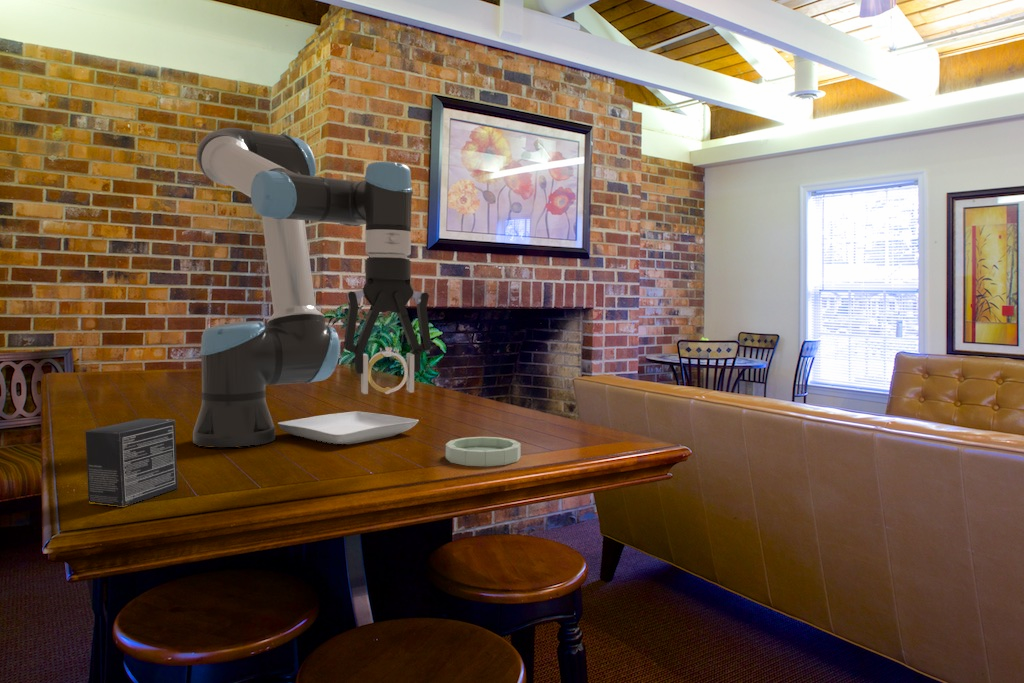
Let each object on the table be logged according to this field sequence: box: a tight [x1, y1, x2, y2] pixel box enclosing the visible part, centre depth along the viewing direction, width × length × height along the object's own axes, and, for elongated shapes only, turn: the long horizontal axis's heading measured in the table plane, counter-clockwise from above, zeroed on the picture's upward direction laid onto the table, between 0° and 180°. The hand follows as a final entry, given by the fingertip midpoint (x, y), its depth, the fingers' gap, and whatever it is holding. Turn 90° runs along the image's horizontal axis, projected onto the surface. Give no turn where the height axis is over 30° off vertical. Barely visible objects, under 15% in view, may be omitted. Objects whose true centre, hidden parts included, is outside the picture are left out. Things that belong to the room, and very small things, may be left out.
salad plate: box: [276, 410, 419, 446], centre depth 150 cm, size 21×21×3 cm
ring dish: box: [445, 436, 522, 467], centre depth 130 cm, size 13×13×2 cm
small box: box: [84, 418, 179, 506], centre depth 103 cm, size 11×6×10 cm, turn 163°
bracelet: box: [368, 346, 408, 395], centre depth 124 cm, size 7×3×8 cm, turn 93°
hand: (387, 391), depth 124 cm, fingers closed on bracelet, 7 cm apart
